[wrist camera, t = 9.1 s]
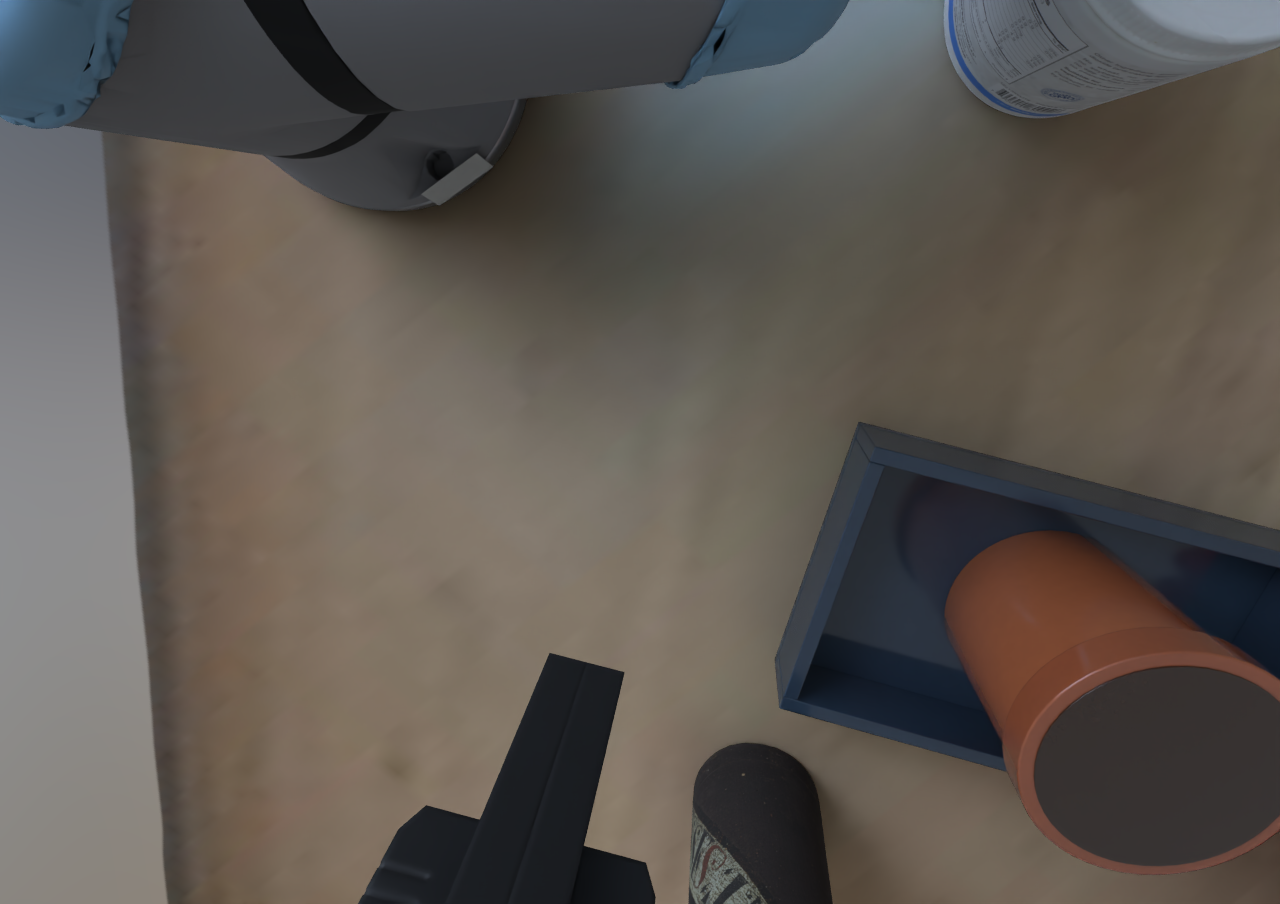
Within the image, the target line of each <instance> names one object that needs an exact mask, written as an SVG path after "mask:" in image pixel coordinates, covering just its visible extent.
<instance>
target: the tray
mask: <svg viewBox="0 0 1280 904" xmlns="http://www.w3.org/2000/svg"><path fill="white" fill-rule="evenodd" d="M1047 530H1053V531H1065V532H1071V533H1076V534H1079V535H1083V536H1086V537H1089V538H1091V539H1093V540H1095V541H1097V542H1099V543H1101V544H1103V545H1104V546H1106V547H1107V548H1109V549H1110V550H1111V551H1113V552H1114V553H1115V554H1116V555H1117V556H1118V557H1120V558H1121V559H1122V560H1123V561H1124V562H1125V563H1127V564H1128V565H1129V566H1130V567H1131V568H1132V569H1134V570H1135V571H1136V572H1137V573H1138V574H1139V575H1141V576H1142V577H1143V578H1144V579H1145V580H1146V581H1148V582H1149V583H1150V584H1151V585H1152V586H1153V587H1155V588H1156V589H1157V590H1158V591H1159V592H1161V593H1162V594H1163V595H1164V596H1165V597H1166V598H1168V599H1169V600H1170V601H1171V602H1172V603H1173V604H1175V605H1176V606H1177V607H1178V608H1179V609H1180V610H1182V611H1183V612H1184V613H1185V614H1186V615H1187V616H1189V617H1190V618H1191V619H1192V620H1193V621H1194V622H1196V623H1197V624H1198V625H1199V626H1200V627H1202V628H1203V629H1204V630H1205V631H1206V632H1207V633H1209V634H1210V635H1212V636H1215V637H1218V638H1221V639H1223V640H1225V641H1227V642H1229V643H1231V644H1233V645H1235V646H1237V647H1239V648H1240V649H1242V650H1243V651H1245V652H1246V653H1248V654H1249V655H1251V656H1252V657H1253V658H1254V659H1256V660H1257V661H1258V662H1259V663H1260V664H1262V665H1263V666H1264V667H1265V668H1266V669H1268V670H1269V671H1270V672H1271V673H1273V674H1274V675H1275V676H1276V677H1277V678H1279V679H1280V530H1276V529H1272V528H1268V527H1264V526H1261V525H1257V524H1253V523H1249V522H1245V521H1241V520H1237V519H1234V518H1230V517H1226V516H1222V515H1218V514H1214V513H1210V512H1207V511H1203V510H1199V509H1195V508H1191V507H1187V506H1183V505H1180V504H1176V503H1172V502H1168V501H1164V500H1160V499H1156V498H1152V497H1149V496H1145V495H1141V494H1137V493H1133V492H1129V491H1125V490H1122V489H1118V488H1114V487H1110V486H1106V485H1102V484H1098V483H1095V482H1091V481H1087V480H1083V479H1079V478H1075V477H1071V476H1068V475H1064V474H1060V473H1056V472H1052V471H1048V470H1044V469H1041V468H1037V467H1033V466H1029V465H1025V464H1021V463H1017V462H1013V461H1010V460H1006V459H1002V458H998V457H994V456H990V455H986V454H983V453H979V452H975V451H971V450H967V449H963V448H959V447H956V446H952V445H948V444H944V443H940V442H936V441H932V440H929V439H925V438H921V437H917V436H913V435H909V434H905V433H902V432H898V431H894V430H890V429H886V428H882V427H878V426H874V425H871V424H867V423H863V422H858V425H857V428H856V431H855V433H854V436H853V439H852V442H851V445H850V448H849V450H848V453H847V456H846V459H845V462H844V465H843V467H842V470H841V473H840V476H839V479H838V482H837V484H836V487H835V490H834V493H833V496H832V498H831V501H830V504H829V507H828V510H827V513H826V515H825V518H824V521H823V524H822V527H821V530H820V532H819V535H818V538H817V541H816V544H815V547H814V549H813V552H812V555H811V558H810V561H809V564H808V566H807V569H806V572H805V575H804V578H803V581H802V583H801V586H800V589H799V592H798V595H797V597H796V600H795V603H794V606H793V609H792V612H791V614H790V617H789V620H788V623H787V626H786V629H785V631H784V634H783V637H782V640H781V643H780V646H779V648H778V651H777V654H776V657H775V669H776V679H777V689H778V699H779V708H780V709H784V710H787V711H791V712H795V713H798V714H802V715H805V716H809V717H813V718H816V719H820V720H823V721H827V722H830V723H834V724H838V725H841V726H845V727H848V728H852V729H855V730H859V731H863V732H866V733H870V734H873V735H877V736H881V737H884V738H888V739H891V740H895V741H898V742H902V743H906V744H909V745H913V746H916V747H920V748H924V749H927V750H931V751H934V752H938V753H941V754H945V755H949V756H952V757H956V758H959V759H963V760H966V761H970V762H974V763H977V764H981V765H984V766H988V767H992V768H995V769H999V770H1002V771H1006V772H1007V770H1006V766H1005V763H1004V757H1003V748H1002V745H1003V744H1002V742H1001V741H1000V739H999V737H998V735H997V733H996V731H995V729H994V727H993V725H992V723H991V721H990V719H989V718H988V716H987V714H986V712H985V710H984V708H983V706H982V704H981V702H980V700H979V698H978V696H977V695H976V693H975V691H974V689H973V687H972V685H971V683H970V681H969V679H968V677H967V675H966V673H965V672H964V670H963V668H962V666H961V664H960V662H959V660H958V658H957V656H956V654H955V652H954V650H953V649H952V646H951V644H950V642H949V640H948V637H947V633H946V630H945V622H944V614H945V605H946V600H947V597H948V594H949V591H950V589H951V587H952V585H953V583H954V581H955V579H956V578H957V576H958V575H959V573H960V572H961V570H962V569H963V568H964V567H965V566H966V565H967V564H968V563H969V562H970V561H971V560H972V559H973V558H974V557H975V556H977V555H978V554H979V553H980V552H982V551H983V550H985V549H986V548H988V547H989V546H991V545H993V544H995V543H997V542H999V541H1001V540H1004V539H1006V538H1009V537H1012V536H1015V535H1019V534H1022V533H1027V532H1034V531H1047Z"/></svg>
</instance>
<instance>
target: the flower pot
mask: <svg viewBox="0 0 1280 904" xmlns="http://www.w3.org/2000/svg"><path fill="white" fill-rule="evenodd" d="M944 622H945V630H946V633H947V637H948V640H949V642H950V644H951V646H952V649H953V650H954V652H955V654H956V656H957V658H958V660H959V662H960V664H961V666H962V668H963V670H964V672H965V673H966V675H967V677H968V679H969V681H970V683H971V685H972V687H973V689H974V691H975V693H976V695H977V696H978V698H979V700H980V702H981V704H982V706H983V708H984V710H985V712H986V714H987V716H988V718H989V719H990V721H991V723H992V725H993V727H994V729H995V731H996V733H997V735H998V737H999V739H1000V741H1001V742H1002V744H1003V745H1002V748H1003V757H1004V763H1005V766H1006V770H1007V773H1008V775H1009V777H1010V780H1011V782H1012V784H1013V786H1014V788H1015V790H1016V792H1017V794H1018V796H1019V798H1020V800H1021V802H1022V804H1023V806H1024V808H1025V810H1026V812H1027V814H1028V815H1029V817H1030V818H1031V820H1032V821H1033V823H1034V824H1035V826H1036V827H1037V828H1038V829H1039V830H1040V831H1041V832H1042V833H1043V834H1044V835H1045V836H1046V837H1047V838H1048V839H1049V840H1050V841H1052V842H1053V843H1054V844H1055V845H1057V846H1058V847H1059V848H1061V849H1062V850H1064V851H1065V852H1067V853H1069V854H1070V855H1072V856H1074V857H1076V858H1078V859H1080V860H1082V861H1085V862H1087V863H1089V864H1092V865H1095V866H1098V867H1101V868H1104V869H1109V870H1113V871H1118V872H1123V873H1131V874H1141V875H1165V874H1178V873H1184V872H1191V871H1196V870H1200V869H1204V868H1208V867H1212V866H1215V865H1218V864H1221V863H1224V862H1227V861H1229V860H1232V859H1234V858H1236V857H1238V856H1241V855H1243V854H1245V853H1247V852H1249V851H1250V850H1252V849H1254V848H1256V847H1257V846H1259V845H1261V844H1262V843H1264V842H1265V841H1266V840H1268V839H1269V838H1270V837H1272V836H1273V835H1274V834H1276V833H1277V832H1278V831H1279V830H1280V679H1279V678H1277V677H1276V676H1275V675H1274V674H1273V673H1271V672H1270V671H1269V670H1268V669H1266V668H1265V667H1264V666H1263V665H1262V664H1260V663H1259V662H1258V661H1257V660H1256V659H1254V658H1253V657H1252V656H1251V655H1249V654H1248V653H1246V652H1245V651H1243V650H1242V649H1240V648H1239V647H1237V646H1235V645H1233V644H1231V643H1229V642H1227V641H1225V640H1223V639H1221V638H1218V637H1215V636H1212V635H1210V634H1209V633H1207V632H1206V631H1205V630H1204V629H1203V628H1202V627H1200V626H1199V625H1198V624H1197V623H1196V622H1194V621H1193V620H1192V619H1191V618H1190V617H1189V616H1187V615H1186V614H1185V613H1184V612H1183V611H1182V610H1180V609H1179V608H1178V607H1177V606H1176V605H1175V604H1173V603H1172V602H1171V601H1170V600H1169V599H1168V598H1166V597H1165V596H1164V595H1163V594H1162V593H1161V592H1159V591H1158V590H1157V589H1156V588H1155V587H1153V586H1152V585H1151V584H1150V583H1149V582H1148V581H1146V580H1145V579H1144V578H1143V577H1142V576H1141V575H1139V574H1138V573H1137V572H1136V571H1135V570H1134V569H1132V568H1131V567H1130V566H1129V565H1128V564H1127V563H1125V562H1124V561H1123V560H1122V559H1121V558H1120V557H1118V556H1117V555H1116V554H1115V553H1114V552H1113V551H1111V550H1110V549H1109V548H1107V547H1106V546H1104V545H1103V544H1101V543H1099V542H1097V541H1095V540H1093V539H1091V538H1089V537H1086V536H1083V535H1079V534H1076V533H1071V532H1065V531H1053V530H1047V531H1034V532H1027V533H1022V534H1019V535H1015V536H1012V537H1009V538H1006V539H1004V540H1001V541H999V542H997V543H995V544H993V545H991V546H989V547H988V548H986V549H985V550H983V551H982V552H980V553H979V554H978V555H977V556H975V557H974V558H973V559H972V560H971V561H970V562H969V563H968V564H967V565H966V566H965V567H964V568H963V569H962V570H961V572H960V573H959V575H958V576H957V578H956V579H955V581H954V583H953V585H952V587H951V589H950V591H949V594H948V597H947V600H946V605H945V614H944Z"/></svg>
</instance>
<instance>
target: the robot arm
mask: <svg viewBox="0 0 1280 904" xmlns="http://www.w3.org/2000/svg"><path fill="white" fill-rule="evenodd" d="M848 2H849V0H0V117H1V118H3V119H4V120H6V121H7V122H10V123H13V124H15V125H26V126H28V127H31V128H41V129H49V128H59V127H61V126H71V127H78V128H84V129H91V130H98V131H105V132H111V133H118V134H125V135H132V136H138V137H145V138H152V139H159V140H165V141H172V142H179V143H185V144H192V145H199V146H206V147H212V148H219V149H226V150H233V151H239V152H246V153H253V154H260V155H264V156H265V157H266V158H268V159H269V160H270V161H272V162H273V163H274V164H276V165H277V166H278V167H280V168H281V169H282V170H284V171H285V172H286V173H288V174H289V175H290V176H292V177H293V178H294V179H296V180H297V181H299V182H300V183H302V184H303V185H305V186H307V187H309V188H310V189H312V190H314V191H316V192H318V193H320V194H322V195H324V196H326V197H328V198H330V199H333V200H335V201H338V202H340V203H344V204H347V205H350V206H354V207H359V208H364V209H372V210H385V211H409V210H417V209H423V208H427V207H431V206H435V205H439V206H440V205H441V204H443V203H444V202H445V201H448V200H450V199H452V198H454V197H456V196H458V195H459V194H461V193H463V192H464V191H466V190H467V189H469V188H470V187H472V186H473V185H474V184H475V183H476V182H478V181H479V180H480V179H481V178H482V177H483V176H484V175H485V174H486V173H487V172H488V171H489V170H490V169H491V168H492V167H493V166H494V165H495V163H496V162H497V161H498V160H499V158H500V157H501V156H502V154H503V153H504V151H505V149H506V148H507V146H508V145H509V143H510V141H511V139H512V137H513V135H514V134H515V132H516V129H517V127H518V125H519V122H520V120H521V117H522V114H523V111H524V108H525V104H526V101H527V98H533V97H542V96H550V95H559V94H568V93H577V92H585V91H594V90H603V89H612V88H621V87H629V86H638V85H647V84H656V83H665V85H666V86H667V87H669V88H672V89H682V88H685V87H686V86H687V85H690V84H695V83H696V82H698V81H699V80H700V79H701V78H702V77H705V76H711V75H717V74H723V73H730V72H736V71H742V70H748V69H754V68H760V67H766V66H772V65H777V64H781V63H784V62H787V61H789V60H791V59H794V58H796V57H798V56H799V55H801V54H802V53H804V52H805V51H806V50H807V49H808V48H809V47H810V46H811V45H812V44H813V43H814V42H816V41H818V40H819V39H821V38H823V36H824V35H825V34H826V33H827V32H828V31H829V30H830V29H831V28H832V27H833V25H834V24H835V23H836V21H837V20H838V19H839V17H840V16H841V14H842V13H843V11H844V9H845V8H846V6H847V4H848ZM623 677H624V672H622V671H618V670H614V669H610V668H606V667H602V666H598V665H594V664H590V663H587V662H583V661H579V660H575V659H571V658H567V657H563V656H559V655H556V654H552V653H549V656H548V658H547V660H546V663H545V665H544V668H543V670H542V672H541V675H540V677H539V680H538V682H537V684H536V687H535V689H534V692H533V694H532V696H531V699H530V701H529V704H528V706H527V708H526V711H525V713H524V716H523V718H522V720H521V723H520V725H519V728H518V730H517V732H516V735H515V737H514V740H513V742H512V744H511V747H510V749H509V751H508V754H507V756H506V759H505V761H504V763H503V766H502V768H501V771H500V773H499V775H498V778H497V780H496V783H495V785H494V787H493V790H492V792H491V795H490V797H489V799H488V802H487V804H486V807H485V809H484V811H483V814H482V816H481V819H480V820H479V819H475V818H471V817H467V816H464V815H460V814H456V813H453V812H449V811H445V810H442V809H438V808H434V807H431V806H427V805H426V806H425V807H424V808H423V809H421V810H420V811H419V812H418V813H417V814H416V815H414V816H413V817H412V818H411V819H410V820H409V821H408V822H406V823H405V824H404V825H403V826H402V827H401V828H399V829H398V831H397V833H396V835H395V837H394V839H393V840H392V842H391V844H390V846H389V848H388V850H387V851H386V853H385V855H384V857H383V859H382V861H381V864H380V866H379V868H377V870H376V872H375V874H374V875H373V877H372V879H371V881H370V883H369V885H368V886H367V889H366V892H365V894H364V895H363V896H362V897H361V899H360V901H359V903H358V904H655V898H656V897H655V893H654V890H653V886H652V883H651V879H650V876H649V872H648V869H647V865H646V863H645V862H641V861H638V860H634V859H630V858H626V857H623V856H619V855H615V854H612V853H608V852H604V851H601V850H597V849H593V848H590V847H586V846H584V842H585V838H586V834H587V829H588V825H589V821H590V817H591V812H592V808H593V804H594V800H595V795H596V791H597V787H598V783H599V778H600V774H601V770H602V766H603V761H604V757H605V753H606V749H607V744H608V740H609V736H610V732H611V727H612V723H613V719H614V715H615V711H616V706H617V702H618V698H619V694H620V689H621V685H622V681H623Z"/></svg>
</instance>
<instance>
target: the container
mask: <svg viewBox="0 0 1280 904" xmlns="http://www.w3.org/2000/svg"><path fill="white" fill-rule="evenodd" d="M692 812H693V814H692V836H691V857H690V881H689V904H833V903H832V895H831V887H830V880H829V873H828V866H827V858H826V851H825V842H824V834H823V826H822V818H821V811H820V805H819V799H818V794H817V790H816V787H815V785H814V782H813V780H812V779H811V777H810V775H809V774H808V772H807V771H806V770H805V768H804V767H803V766H802V765H801V764H800V763H799V762H797V761H796V760H795V759H794V758H792V757H791V756H790V755H788V754H786V753H784V752H782V751H780V750H778V749H776V748H773V747H770V746H766V745H761V744H749V743H741V744H735V745H731V746H728V747H725V748H723V749H721V750H720V751H718V752H716V753H715V754H714V755H712V756H711V757H710V758H709V759H708V760H707V761H706V762H705V763H704V765H703V766H702V767H701V769H700V771H699V773H698V775H697V778H696V782H695V786H694V796H693V810H692Z"/></svg>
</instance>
